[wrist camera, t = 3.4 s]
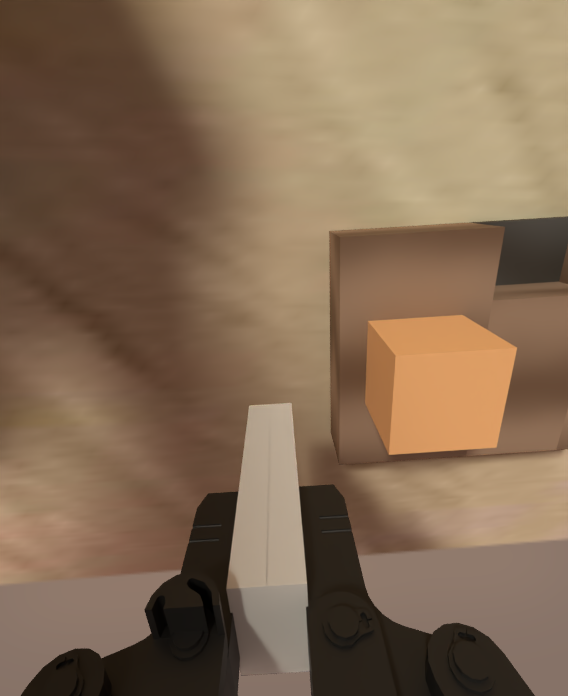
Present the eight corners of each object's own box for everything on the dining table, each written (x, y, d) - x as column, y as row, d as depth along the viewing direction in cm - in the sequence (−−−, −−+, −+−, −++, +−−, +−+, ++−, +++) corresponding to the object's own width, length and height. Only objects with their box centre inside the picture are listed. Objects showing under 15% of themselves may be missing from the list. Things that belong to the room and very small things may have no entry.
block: (367, 320, 17) (395, 355, 13) (462, 314, 17) (517, 348, 13) (365, 403, 18) (388, 454, 15) (450, 397, 18) (496, 447, 15)
